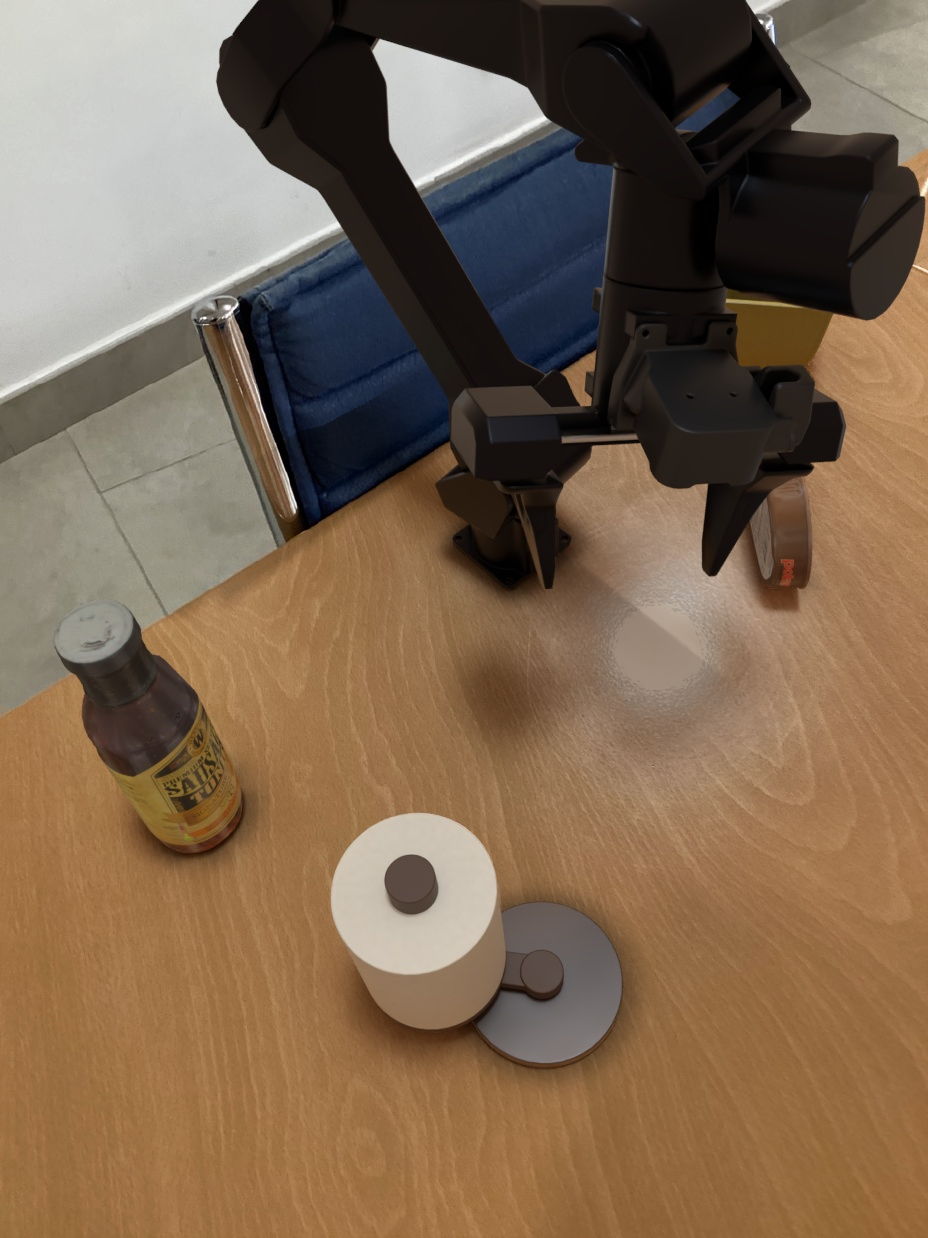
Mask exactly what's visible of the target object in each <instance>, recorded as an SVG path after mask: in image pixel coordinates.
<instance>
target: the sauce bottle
mask: <svg viewBox="0 0 928 1238" xmlns="http://www.w3.org/2000/svg"><path fill="white" fill-rule="evenodd" d="M53 632H54V633H53V638H52V639H53V640H52V641H53V642H52V643H53V646H54V650H55V652H56V653H57V655H58V657H59V659H60V662H61V663H62V665H63V666H64V668H66V670H67V671H68V672H70V673H71V674H73V675H75V676H76V678H77V679H78V681H79V682H80V684H81V686H82V689H83V692H84V694H83V698H82V703H81V721H82V724H83V728H84V731H85V733H86V735H87V738H88V739H89V740H90V741H91V743H92V745H93V746H94V747H95V749H96V752H97V754H98V757H99V758H100V760H101V761H102V763H103V765H104V766H105V767H106V769H107V770H108V772H109V773H110V774H111V776H112V777H113V779H114V781H115V782H116V784H117V785H118V786H119V788H120V789H121V790H122V792H123V794H124V795H125V797H126V798H127V800H128V801H129V803H130V804H131V806H132V807H133V808H134V810H135V811H136V813H137V815H138V816H139V818H140V819H141V821H142V822H143V824H144V825H145V826H146V828H147V829H148V831H150V833H151V834H152V835H153V836H155V838H156V839H158V840H159V841H160V842H161V843H162V844H163V845H165V846H166V847H167V848H169V849H171V850H173V851H176V852H177V853H184V854H198V853H202V852H205V851H208V850H211V849H213V848H215V847H216V846H218V845H219V844H220V843H222V842H223V841H224V840H225V839H227V838H228V837H229V836H230V835H231V833H232V832H234V831H235V829H236V826H237V825H238V824H239V823H240V821H241V816H242V811H243V801H244V800H243V790H242V785H241V781H240V779H239V776H238V774H237V771H236V770H235V768H234V766H233V764H232V762H231V760H230V758H229V756H228V753H227V751H226V749H225V747H224V745H223V744H222V741H221V739H220V737H219V735H218V733H217V730H216V729H215V726H214V725H213V723H212V721H211V719H210V717H209V715H208V713H207V711H206V708H205V706H204V705H203V703H202V701H201V698H200V697H199V694H198V693H197V691H196V689H194V687H192V686H191V684H189V683H188V681H186V680H185V678H183V676H182V675H181V674H180V673H178V671H177V670H176V669H175V668H174V667H173V666H172V665H171V664H169V662H168V661H167V660H166V659H165V658H163V657H162V656H161V655H159V654H154V653H152V652H151V651H150V650H149V649H148V647H147V646H146V644H145V642H144V640H143V637H142V636H143V635H142V629H141V626H140V624H139V622H138V620H137V618H136V617H135V615H134V614H133V612H132V611H131V610H130V609H129V608H128V607H127V606H126V605H125V604H124V603H121V602H119V601H117V600H116V599H109V598H98V599H91V600H89V601H86V602H82V603H80V604H78V605H76V606H75V607H73V608H72V609H70V610H69V611H68V612H67V613H66V614H64V616H62V618H61V619H60V620H59V622H58V625H56V627H55V629H54V631H53Z"/></svg>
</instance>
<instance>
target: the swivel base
mask: <svg viewBox="0 0 928 1238" xmlns="http://www.w3.org/2000/svg"><path fill="white" fill-rule="evenodd" d="M501 916H502V924H503V932H504V939H505V947H506V951H508V952H516V953H523V954H529V953H531V952H533V951H536V950H547V951H550V952H552V953H554V954H555V955H556V956H557V957H558V958H559V959H560V960H561V962H562V965H563V969H564V981H563V985H562V987H561V989H560V990H559V992H558V993H557V994H556V995H554V996H553V997H550V998H547V999H538V998H535V997H533V996H531V995H530V994H528V993H527V992H526V991H525V990H519V989H511V988H504V987H500V989H499V991H498V992H497V994H496V996H495V998H494V999H493V1001H492V1002H491V1003H490V1005H489V1006H488V1007H487V1008H486V1009H485V1010H484V1011H483V1012H482V1013H481V1014H480V1015H479V1016H477V1017H476V1018H475V1019H473V1020H472V1021H471V1023H472V1025H473V1026H474V1028H475V1030H476V1032H477V1033H478V1034H479V1036H480V1037H481V1038H482V1040H483V1041H484V1042H485V1043H486V1044H487V1045H488V1046H489V1047H490V1048H491V1049H492V1050H494V1051H495V1052H496V1053H498V1054H499V1055H500V1056H502V1057H504V1058H506V1059H507V1060H509V1061H512V1062H514V1063H516V1064H519V1065H523V1066H527V1067H531V1068H539V1069H551V1068H559V1067H564V1066H568V1065H571V1064H573V1063H575V1062H578V1061H579V1060H582V1059H584V1058H585V1057H586V1056H588V1055H590V1054H592V1052H594V1051H595V1050H596V1049H597V1048H598V1047H599V1046H600V1045H601V1044H602V1043H603V1042H604V1041H605V1040H606V1039H607V1037H608V1035H609V1034H610V1033H611V1031H612V1030H613V1028H614V1026H615V1024H616V1022H617V1019H618V1016H619V1014H620V1013H619V1012H620V1010H621V1006H622V1001H623V994H624V977H623V976H624V975H623V969H622V963H621V960H620V958H619V955H618V952H617V950H616V948H615V946H614V944H613V942H612V940H611V939H610V937H609V936H608V934H607V933H606V931H604V929H603V928H602V927H601V926H600V925H599V924H598V923H597V922H595V920H594V919H592V918H591V917H589V916H588V915H587V914H585V913H584V912H582V911H580V910H578V909H576V908H574V907H572V906H569V905H566V904H563V903H559V902H554V901H545V900H542V901H539V900H538V901H529V902H523V903H519V904H515V905H513V906H511V907H509V908H506V909H504V910H503V911H502V910H501Z"/></svg>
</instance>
